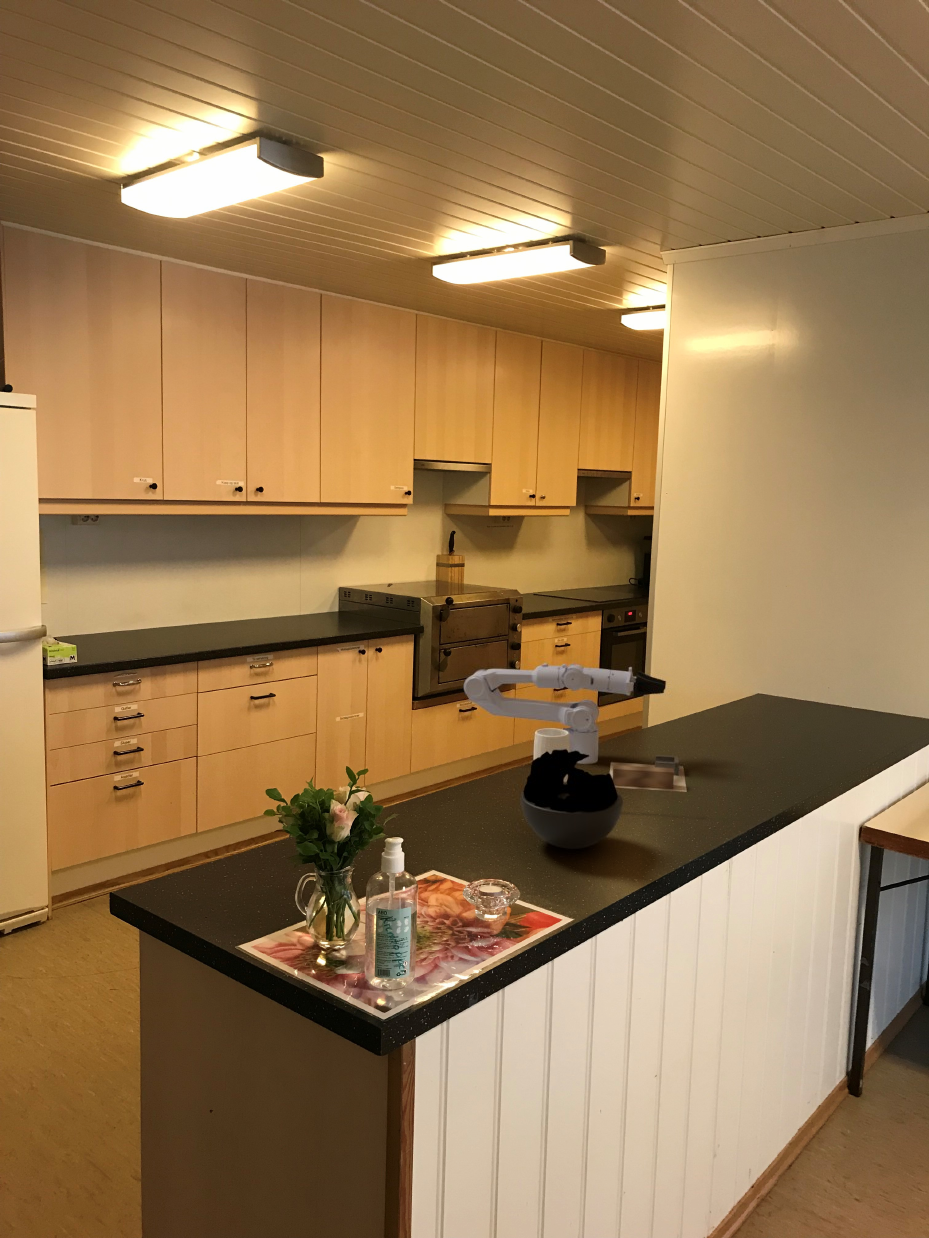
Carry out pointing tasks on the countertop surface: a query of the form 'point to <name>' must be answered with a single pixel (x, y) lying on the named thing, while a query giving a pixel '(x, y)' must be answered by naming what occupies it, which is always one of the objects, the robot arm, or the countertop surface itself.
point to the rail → (643, 776)
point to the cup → (551, 742)
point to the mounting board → (677, 786)
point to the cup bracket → (667, 763)
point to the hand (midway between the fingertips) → (664, 687)
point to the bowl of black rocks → (569, 801)
